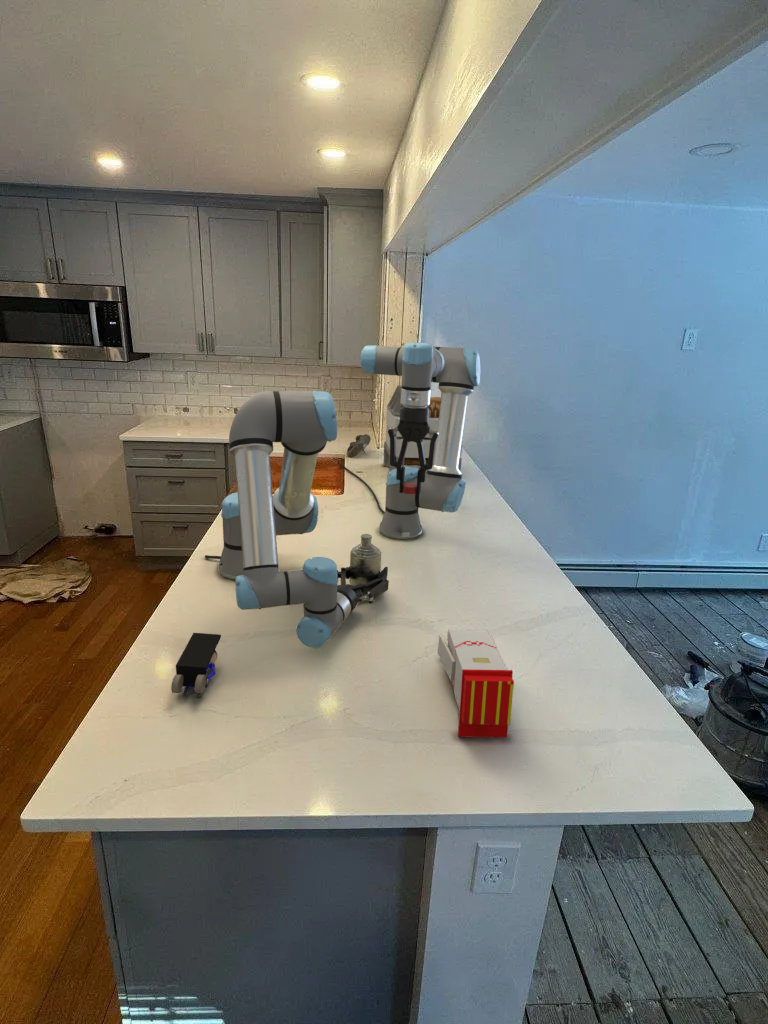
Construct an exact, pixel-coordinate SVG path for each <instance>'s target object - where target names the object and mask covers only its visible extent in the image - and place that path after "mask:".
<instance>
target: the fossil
mask: <svg viewBox="0 0 768 1024" xmlns="http://www.w3.org/2000/svg"><path fill="white" fill-rule="evenodd" d="M354 440H355V441H351V442H350V443H349V446H348V447H347V450H346V456H347V457H348V458H352V457H355V456H357V455H359V454H360V453H361V452H363V453H364V454H366V452H365V449H366V448H367V446H369V445H370V443H371V440H372V439H371V436H370V434H367V433H365V434H358V435H356V436H355V438H354Z"/></svg>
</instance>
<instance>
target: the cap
mask: <svg viewBox="0 0 768 1024" xmlns="http://www.w3.org/2000/svg"><path fill="white" fill-rule="evenodd" d="M416 491H417V484H414V483H405V484H403V493H406V494H416Z"/></svg>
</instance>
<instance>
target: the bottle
mask: <svg viewBox="0 0 768 1024" xmlns="http://www.w3.org/2000/svg"><path fill="white" fill-rule="evenodd" d="M372 538H373V535H372V534H369V533H362V534H361V535H360V543H358V544H357V545H355V546H354V547H352V548H351V550H350V555H349V566H350V578H349V584H350V585H353V586H356V585H359V584H365V583H368V582H370V581H373V580H375V579H377V576H378V575H379V573H380V572H381V571H382V570H381V569H382V567H381V566H382V551H381V550H380V548H379V547H377V546H375V545H374V544H373V543H372ZM379 597H380V596H379ZM379 597H377V598H376V599H375V600H374V601H376V600H378V599H379ZM360 603H368V601H367V600H362V601H361V602H360Z"/></svg>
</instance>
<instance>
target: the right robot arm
mask: <svg viewBox="0 0 768 1024" xmlns="http://www.w3.org/2000/svg"><path fill="white" fill-rule="evenodd" d="M360 352H361V353H360V357H359V359H360V360H359V361H360V362H359V363H360V369H361V370H362V372H363V373H365V374H372V375H381V376H383V375H384V376H396V377H401V385H400V386H401V401H400V403H401V404H402V406H401V407H400V422H399V424H398V426H397V427H395V428H390V429H389V430H388V434H389V437H390V465H391V466H394V467H396V469H393V470H391V471H390V470H389V472H388V473H387V475H386V482H385V504H384V505H385V507H384V508H385V509H384V510H383V509H382V507H381V505H380V503H379V500H378V498H377V495H376V494H375V492H374V491H373V489H372V488H371V486H370V485H369V484H368V483H367V482H365V480H364V479H362V478H361V477H359V476H358V475H357V474H356V473H355V472H353V471H351V470H350V469H348V468H347V467H346V466H344V465H343V464H342V463H341V462H339V461H337V464H338V465H339V466H340V467H342V469H344V470H346V471H347V472H348V473H350V474H351V475H353V476H354V477H355V478H357V479H358V480H359V481H360V482H361V483H363V484H364V485H365V486H366V487H367V489H368V490H369V491H370V492H371V494H372V496H373V499H374V500H375V503H376V505H377V508H378V510H379V511H380V512H381V513H382V514H383V515H382V519H381V522H379V527H378V533H379V534H380V535H381V536H382V537H385V538H387V539H389V540H395V541H410V540H415V539H418V538H420V537H421V536H422V535H423V525H422V524H421V518H420V515H419V509H424V510H431V511H437V512H441V513H444V512H446V513H455V512H457V511H458V509H459V508H460V506H461V504H462V502H463V501H462V500H463V497H464V494H465V490H466V480H465V479H464V478H462V477H463V473H462V471H461V472H460V470H459V469H458V465H459V458H460V451H461V443H462V441H463V438H462V436H463V437H464V432H463V429H465V421H466V414H467V407H468V406H467V405H468V400H469V399H468V398H469V396H470V395H472V394H473V393H474V389H475V387H478V386H479V385H480V383H481V359H480V354H479V352H478V350H476V349H473V348H466V347H449V346H448V347H447V346H435V345H432V344H430V343H427V342H407V343H405V344H404V345H403V347H401V346H399V347H398V346H389V345H388V346H387V345H376V344H374V345H373V344H372V345H370V344H369V345H365V346H364V347H362V350H361V351H360ZM432 383H436V384H438V387H437V388H438V390H439V391H440V393H441V392H442V399H441V406H440V414H439V422H438V429H437V431H436V432H435V431H433V430H431V429H430V427H429V408H428V407H427V406H428V405H430V397H431V394H432V393H431V392H432V391H431V390H432V388H431V387H432ZM398 431H399V432H400V434H401V436H402V437H403V442H402V447H401V451H400V455H399V459H398V462H397V461H396V435H397V432H398ZM428 433H429V435H430V436H429V438H430V439H431V441H430V449H429V458H428V464H426V461H425V453H424V446H423V438H424V437H425V436H426V435H427V434H428ZM412 441H413V442H416V443H417V447H418V454H419V462H420V466H419V467H417V466H404V467H402V465H403V461H404V457H405V453H406V450H407V446H408V442H412ZM462 444H463V443H462ZM405 483H414V484H417V491H416V494H406V493H403V484H405Z"/></svg>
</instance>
